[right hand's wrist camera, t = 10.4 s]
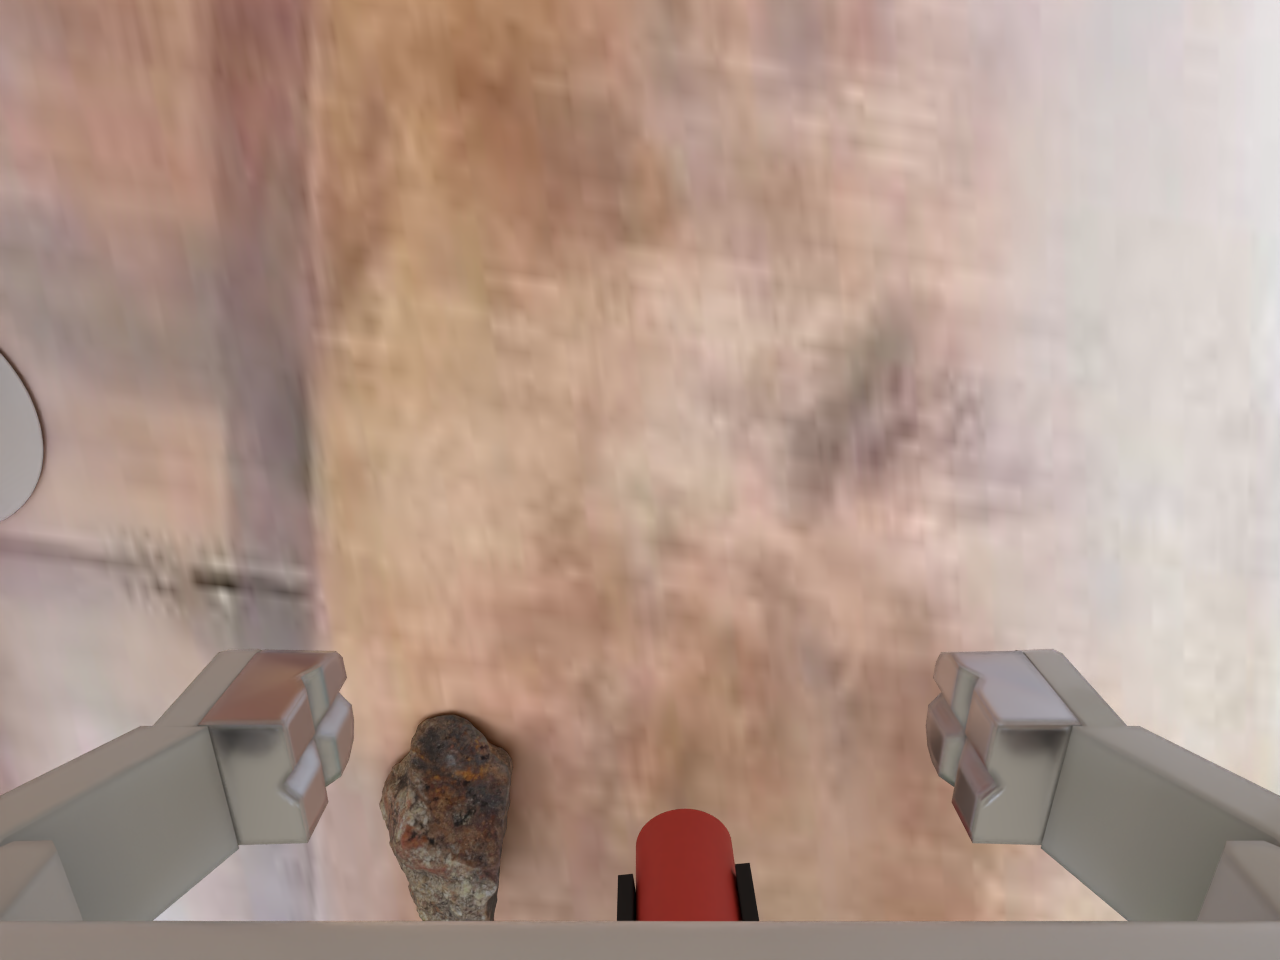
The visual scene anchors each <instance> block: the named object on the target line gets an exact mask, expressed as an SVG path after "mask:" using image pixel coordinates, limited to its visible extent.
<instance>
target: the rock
mask: <svg viewBox="0 0 1280 960" xmlns="http://www.w3.org/2000/svg"><path fill="white" fill-rule="evenodd" d="M512 770H513V765H512V760H511V758H510V756H509V754H508V753H507V752H506V751H505V750H504V749H502V748H500V747H496V746H494V745H492V744H491V743H489V742H488V741H487V739H486V738H485V736H484V735H483V734H482V733H481V732H480V731H479V730H477V729H476V728H475V727H474V726H473V725H472V723H471V722H469V721H468V720H467V719H464V718H462V717H459V716H457V715H443V716H437V717H435V718H430V719H426V720H425V721H423V722H422V723H421V724H420V725H418V728H417V731H416V734H415V735H414V737H413V738H412V742H411V750H410V752H409V754H408V755H407V756H406V757H405V758H404V759H403V760H402V761H401V762H400V763H397V764H396V765H395V766H394V767H393V768H392V771H391V773H390V774H389V776H388V778H387V780H386V782H385V786H384V788H383V791H382V798H381V801H380V809H381V812H382V815H383V819H384V820H385V822H386V825H387V829H388V830H389V835H390V846H391V848H392V850H393V852H394V855H395V856H396V858H397V860H398V862H399V865H400V866H401V869H402V870H403V871H404V873H405V874H406V877H407V879H408V881H409V886H408V887H409V890H410V894H411V896H412V898H413V900H414V903H415V904H416V905H417V911H418V913H419V916H420V918H421V919H422V920H423V921H494V912H495V907H496V903H497V892H498V885H499V873H500V857H501V851H502V843H503V838H504V835H505V831H506V827H507V812H508V809H509V805H510V793H509V789H510V784H511V774H512Z"/></svg>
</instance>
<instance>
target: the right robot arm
mask: <svg viewBox="0 0 1280 960" xmlns="http://www.w3.org/2000/svg"><path fill="white" fill-rule="evenodd" d="M42 462H43V439H42V432H41V427H40V423H39V419H38V415H37V413H36V410H35V407H34V405H33V402H32V400H31V398H30V396H29V394H28V392H27V390H26V388H25V386H24V385H23V383H22V381H21V379H20V378H19V376H18V375H17V373H16V372H15V371H14V369H13V368H12V367H11V365H10V364H9V363H8V361H7V360H6V359H5V358H4V357H3V355H2V354H1V353H0V522H1V521H3V520H5V519H6V518H8V517H9V516H11V515H12V514H14V513H15V512H16V511H17V510H19V509H20V508H21V507H22V506H23V505H24V503H25V502H26V501H27V500H28V499H29V497H30V496H31V494H32V493H33V491H34V489H35V487H36V485H37V482H38V480H39V477H40V473H41V469H42ZM346 678H347V676H346V671H345V667H344V662H343V657H342V656H341V655H340V654H338V653H337V652H336V651H305V650H259V649H248V650H226V651H222V652H219V653H218V654H217V655H216V656H215V657H214V658H213V659H212V660H211V662H210V663H209V664H208V665H207V666H206V667H205V668H204V669H203V671H202V672H201V673H200V674H199V675H198V676H197V677H196V678H195V679H194V681H193V682H192V683H191V684H190V685H189V686H188V687H187V688H186V689H185V691H184V692H183V693H182V694H181V695H180V696H179V697H178V698H177V699H176V701H175V702H174V703H173V704H172V705H171V706H170V707H169V708H168V710H167V711H166V712H165V713H164V714H163V715H162V716H161V717H160V718H159V720H158V721H157V722H156V723H155V724H154V725H153V726H140V727H138V728H136V729H134V730H132V731H130V732H128V733H126V734H124V735H122V736H120V737H118V738H116V739H114V740H112V741H110V742H108V743H106V744H104V745H102V746H100V747H98V748H96V749H94V750H92V751H90V752H88V753H85V754H83V755H81V756H79V757H77V758H75V759H73V760H71V761H69V762H67V763H65V764H63V765H61V766H59V767H57V768H55V769H53V770H51V771H49V772H47V773H45V774H43V775H41V776H39V777H37V778H35V779H33V780H31V781H29V782H27V783H25V784H23V785H21V786H19V787H17V788H15V789H13V790H11V791H9V792H7V793H5V794H3V795H1V796H0V960H1280V796H1279V795H1277V794H1275V793H1273V792H1271V791H1269V790H1267V789H1265V788H1263V787H1261V786H1259V785H1257V784H1255V783H1253V782H1251V781H1249V780H1247V779H1245V778H1243V777H1241V776H1239V775H1237V774H1235V773H1233V772H1231V771H1229V770H1227V769H1225V768H1223V767H1220V766H1218V765H1216V764H1214V763H1212V762H1210V761H1208V760H1206V759H1204V758H1202V757H1200V756H1198V755H1196V754H1194V753H1192V752H1190V751H1188V750H1186V749H1184V748H1182V747H1180V746H1178V745H1176V744H1174V743H1172V742H1170V741H1168V740H1166V739H1164V738H1162V737H1160V736H1158V735H1156V734H1154V733H1152V732H1150V731H1148V730H1146V729H1144V728H1142V727H1140V726H1127V725H1126V724H1125V723H1124V722H1123V721H1122V720H1121V718H1120V717H1119V716H1118V715H1117V714H1116V713H1115V712H1114V711H1113V710H1112V708H1111V707H1110V706H1109V705H1108V704H1107V703H1106V702H1105V701H1104V699H1103V698H1102V697H1101V696H1100V695H1099V694H1098V693H1097V692H1096V691H1095V689H1094V688H1093V687H1092V686H1091V685H1090V684H1089V683H1088V682H1087V681H1086V679H1085V678H1084V677H1083V676H1082V675H1081V674H1080V673H1079V672H1078V670H1077V669H1076V668H1075V667H1074V666H1073V665H1072V664H1071V663H1070V662H1069V660H1068V659H1067V658H1066V657H1065V656H1064V655H1063V654H1062V653H1060V652H1058V651H1056V650H1054V649H1037V650H1015V651H982V652H941V653H940V655H939V657H938V659H937V661H936V665H935V670H934V676H933V678H934V680H935V682H936V684H937V685H938V687H939V689H940V691H941V693H940V694H939V695H938V696H937V697H936V698H935V699H934V700H933V701H932V702H931V703H930V704H929V705H928V712H927V720H926V735H927V746H928V750H929V753H930V757H931V760H932V763H933V765H934V767H935V769H936V771H937V773H938V776H939V777H941V778H942V779H944V780H945V781H947V782H948V783H949V784H951V785H952V786H954V792H953V798H952V804H953V806H954V808H955V809H956V811H957V813H958V815H959V817H960V819H961V821H962V823H963V825H964V827H965V829H966V831H967V833H968V835H969V837H970V839H971V841H972V843H989V844H1025V845H1042V846H1041V849H1043V850H1044V851H1045V852H1046V853H1047V854H1049V855H1050V856H1051V857H1052V858H1053V859H1055V860H1056V861H1057V862H1058V863H1059V864H1060V865H1062V866H1063V867H1064V868H1065V869H1066V870H1068V871H1069V872H1070V873H1071V874H1072V875H1074V876H1075V877H1076V878H1077V879H1078V880H1080V881H1081V882H1082V883H1083V884H1084V885H1086V886H1087V887H1088V888H1089V889H1090V890H1092V891H1093V892H1094V893H1095V894H1096V895H1098V896H1099V897H1100V898H1101V899H1102V900H1103V901H1105V902H1106V903H1107V904H1108V905H1109V906H1111V907H1112V908H1113V909H1114V910H1115V911H1117V912H1118V913H1119V914H1120V915H1121V916H1123V917H1124V918H1125V919H1126V920H1127V921H153V920H154V919H155V918H156V917H158V916H159V915H160V914H161V913H162V912H164V911H165V910H166V909H167V908H168V907H170V906H171V905H172V904H173V903H174V902H176V901H177V900H178V899H179V898H180V897H182V896H183V895H184V894H185V893H186V892H188V891H189V890H190V889H191V888H192V887H194V886H195V885H196V884H197V883H198V882H200V881H201V880H202V879H203V878H204V877H206V876H207V875H208V874H209V873H210V872H211V871H213V870H214V869H215V868H216V867H217V866H219V865H220V864H221V863H222V862H223V861H225V860H226V859H227V858H228V857H229V856H231V855H232V854H233V853H234V852H235V851H237V850H238V849H239V846H238V845H255V844H289V843H308V841H309V839H310V837H311V835H312V833H313V831H314V829H315V827H316V825H317V823H318V821H319V819H320V817H321V815H322V813H323V811H324V810H325V808H326V806H327V804H328V797H327V792H326V786H328V785H329V784H331V783H332V782H333V781H335V780H336V779H338V778H339V777H341V776H342V773H343V771H344V769H345V767H346V765H347V763H348V761H349V757H350V753H351V748H352V744H353V739H354V718H353V711H352V705H351V704H350V703H349V702H348V701H347V700H346V699H345V698H344V697H343V696H342V695H341V694H340V693H339V691H340V689H341V687H342V685H343V684H344V682H345V680H346Z"/></svg>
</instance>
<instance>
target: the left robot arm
mask: <svg viewBox="0 0 1280 960" xmlns="http://www.w3.org/2000/svg"><path fill="white" fill-rule="evenodd" d="M735 872H736V880H737V887H738V894H739V901H740V908H741V915H742V921H759V917H758V911H757V905H756V899H755V893H754V887H753V881H752V875H751V869H750V863H744V864H735ZM617 921H636V890H635V884H634V878H633V874H627V875H618V900H617Z"/></svg>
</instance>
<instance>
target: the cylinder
mask: <svg viewBox="0 0 1280 960" xmlns="http://www.w3.org/2000/svg"><path fill="white" fill-rule="evenodd" d="M636 921H742V915H741V908H740V901H739V894H738V887H737V880H736V872H735V863H734V856H733V849H732V842H731V837H730V834H729V832H728V830H727V829H726V827H725V826H724V825H723V824H722V823H721V822H720V821H719V820H718V819H717V818H715V817H714V816H712V815H710V814H708V813H705V812H702V811H699V810H693V809H676V810H671V811H667V812H664V813H662V814H659V815H658V816H656V817H654V818H653V819H651V820H650V821H649V822H648V823H646V825H645V826H644V827H643V828H642V830H641V831H640V833H639V835H638V838H637V842H636Z"/></svg>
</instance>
